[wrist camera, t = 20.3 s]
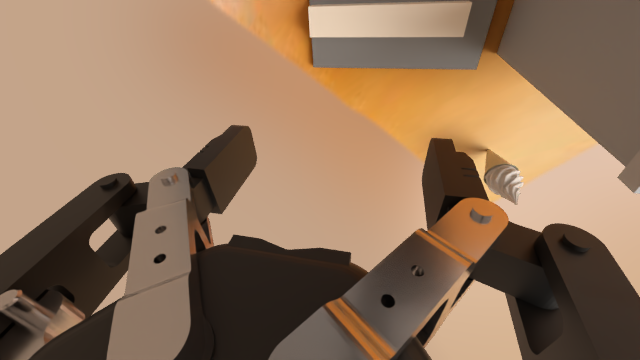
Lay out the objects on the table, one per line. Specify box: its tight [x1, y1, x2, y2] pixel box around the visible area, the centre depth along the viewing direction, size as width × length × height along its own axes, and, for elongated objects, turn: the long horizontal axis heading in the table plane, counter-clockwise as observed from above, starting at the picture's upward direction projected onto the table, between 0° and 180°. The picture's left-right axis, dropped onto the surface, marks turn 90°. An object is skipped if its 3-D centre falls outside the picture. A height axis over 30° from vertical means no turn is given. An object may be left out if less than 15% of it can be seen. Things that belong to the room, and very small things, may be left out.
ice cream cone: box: [484, 149, 523, 205], centre depth 44 cm, size 5×5×15 cm
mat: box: [309, 0, 497, 69], centre depth 40 cm, size 26×14×1 cm, turn 92°
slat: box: [308, 1, 472, 37], centre depth 39 cm, size 22×4×2 cm, turn 92°
